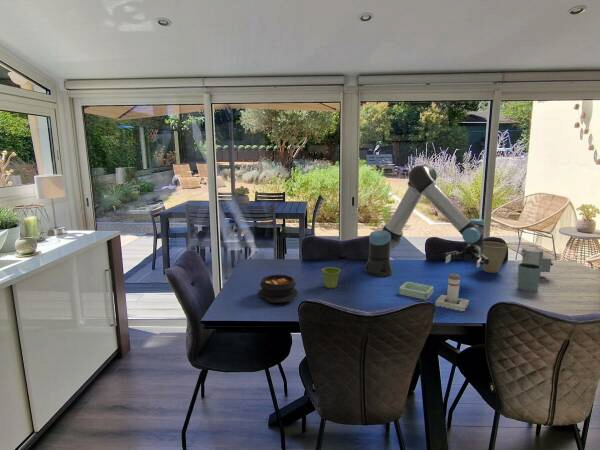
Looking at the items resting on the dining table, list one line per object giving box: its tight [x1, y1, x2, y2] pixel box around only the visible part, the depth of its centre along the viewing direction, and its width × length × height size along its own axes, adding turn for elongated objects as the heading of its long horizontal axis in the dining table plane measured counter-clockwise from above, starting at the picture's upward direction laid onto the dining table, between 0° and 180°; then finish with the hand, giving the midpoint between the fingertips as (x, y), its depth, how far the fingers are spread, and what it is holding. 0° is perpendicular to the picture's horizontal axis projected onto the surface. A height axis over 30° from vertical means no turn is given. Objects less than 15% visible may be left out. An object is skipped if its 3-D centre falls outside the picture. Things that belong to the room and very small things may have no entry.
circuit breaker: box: [520, 247, 554, 279], centre depth 215 cm, size 8×14×15 cm, turn 78°
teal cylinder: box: [517, 262, 542, 292], centre depth 196 cm, size 10×10×12 cm
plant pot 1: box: [321, 266, 341, 289], centre depth 198 cm, size 9×9×9 cm
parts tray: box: [398, 281, 434, 301], centre depth 189 cm, size 13×11×3 cm
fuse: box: [446, 273, 461, 304], centre depth 174 cm, size 5×5×14 cm
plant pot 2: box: [480, 241, 509, 274], centre depth 224 cm, size 15×15×16 cm
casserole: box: [258, 274, 299, 304], centre depth 185 cm, size 25×19×8 cm
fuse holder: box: [434, 294, 470, 312], centre depth 175 cm, size 12×10×2 cm
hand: (461, 262), depth 180 cm, fingers open, 13 cm apart
